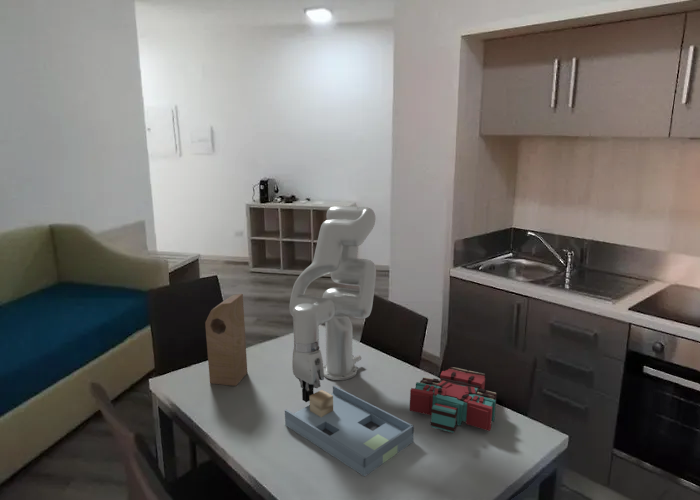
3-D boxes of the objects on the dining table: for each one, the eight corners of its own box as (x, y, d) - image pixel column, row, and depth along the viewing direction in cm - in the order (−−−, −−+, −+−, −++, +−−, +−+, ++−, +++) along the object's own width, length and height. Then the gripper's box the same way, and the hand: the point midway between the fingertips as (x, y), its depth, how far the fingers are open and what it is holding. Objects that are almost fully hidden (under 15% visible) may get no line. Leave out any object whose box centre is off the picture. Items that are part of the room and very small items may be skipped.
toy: (431, 384, 172) (401, 425, 145) (433, 358, 170) (402, 396, 143) (503, 400, 161) (485, 448, 135) (505, 373, 159) (487, 416, 133)
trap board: (334, 399, 160) (334, 385, 158) (413, 441, 138) (413, 425, 137) (285, 425, 146) (284, 410, 145) (364, 476, 124) (364, 459, 123)
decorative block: (236, 386, 168) (230, 303, 161) (209, 383, 170) (203, 301, 163) (247, 372, 178) (243, 293, 171) (222, 370, 180) (216, 292, 173)
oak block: (322, 404, 152) (321, 389, 151) (333, 410, 149) (333, 395, 148) (309, 410, 149) (309, 395, 148) (321, 417, 145) (320, 402, 144)
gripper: (332, 348, 146) (333, 404, 150) (300, 334, 156) (301, 386, 160) (313, 356, 141) (314, 413, 145) (281, 341, 151) (283, 395, 155)
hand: (308, 399), depth 153 cm, fingers closed
